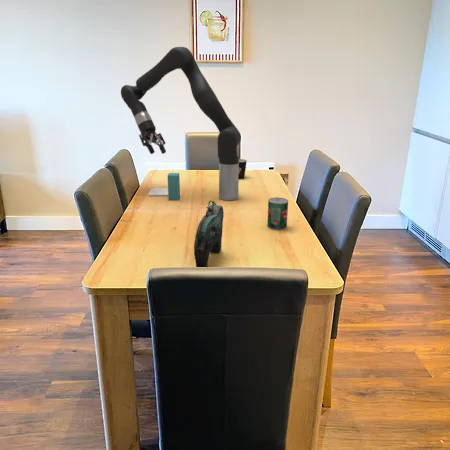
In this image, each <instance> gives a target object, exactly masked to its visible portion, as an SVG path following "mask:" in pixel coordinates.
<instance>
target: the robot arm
mask: <svg viewBox="0 0 450 450" xmlns="http://www.w3.org/2000/svg"><path fill="white" fill-rule="evenodd" d="M176 70H181V72H183V73H184V75H185V77H186V78H187V81H188V83H189V86H190V90H191V94H192V97H193V99H194V101H195V102H196V104H197V106H198V107H199V108H200V111H201V112H203V113H204V115H205V116H206V117H207V118H208V119H210V121H212V122H213V124H214V125H215V126H216V128H217V130H218V135H217V157H218V166H219V167H218V180H219V181H218V198H219V200H223V201H236V200H239V181H240V179H238V172H239V159H240V158H239V156H238V146H239V144H240V143H241V139H242V136H241V135H242V134H241V133H240V130H239V129H238V128H237V127H236V125H235V123H233V122H232V120H231V119H230V118H229V116H228V115H227V113H226V111H225V109H224V107H223V105H222V104H221V102H220V101H219V99H218V97H217V95H216V94H215V92H214V90H213V88H212V87H211V86H210V84H209V83H208V81H207V79H206V78H205V76H204V74H203V73H202V71H201V70H200V68H199V66H198V64H197V61H196V60H195V57H194V54H193V53H192V51H191V50H190V49H189V48H187V47H185V46H175V47H172V48H171V49H170V50H169V51H167V53H166V54H165V55H164V56H163V58H161V60H159V61H158V62H157V63H156V64H155V65H153V67H152V68H150V69H149V70H147V71H146V72H145V73H143V74H142V75H141V76H139V77H138V78H137V79H136V80H135V85H129V84H125V85H123V86H122V87H121V89H120V96H121V98H122V100H123V102H124V103H125V104H126V105H127V107H128V109H129V110H131V111H130V112H131V114H132V116H133V118H134V121H135V123H136V126H137V128H138V130H139V132H140V134H138V137H139V139H140V142H141V145H142V146H143V147H146V148H147V150H148V152H149V154H151V155H153V154H154V153H155V148H154V147H153V145H152V144H155V145H157V146H158V147H159V150H160V152H161V154H162V155H164V154H165V153H167V150H166V148H165V146H164V145H166V141H165V139H164V137H163V136H162V133H161V132H159V133H157V132H156V130H157V128H156V125H155V123H154V121H153V119H152V117H151V115H150V114H149V112H148V110H147V108H146V105H145V104H144V102H142V101H141V99H142V98H143V97H144V96H145V95H146V93H147V92H148V91H149V90H152V88H154V87H156V86H157V85H158V84H159V82H161V81H162V79H163V78H164V77H165V76H166V75H168V74H169V73H171V72H173V71H176Z"/></svg>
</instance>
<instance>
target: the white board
mask: <svg viewBox="0 0 450 450" xmlns="http://www.w3.org/2000/svg"><path fill="white" fill-rule="evenodd" d="M148 197H168V187H151V189H150V191H149V193H148Z"/></svg>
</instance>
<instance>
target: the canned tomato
mask: <svg viewBox="0 0 450 450" xmlns="http://www.w3.org/2000/svg"><path fill="white" fill-rule="evenodd" d="M288 210H289V200H288V199H287V198H284V197H277V196H276V197H270V198H268V202H267V220H266V221H267V222H266V223H267V225H266V227H267V228H268V229H270V230H276V231H280V230H281V231H282V230H283V231H284V230H286V229H287V228H288V215H289V214H288V212H289V211H288Z"/></svg>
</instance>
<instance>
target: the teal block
mask: <svg viewBox="0 0 450 450" xmlns="http://www.w3.org/2000/svg"><path fill="white" fill-rule="evenodd" d="M180 185H181V184H180V172H169V173H168V174H167V188H168V196H167V197H168V201H180V198H181V191H180V189H181V186H180Z"/></svg>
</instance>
